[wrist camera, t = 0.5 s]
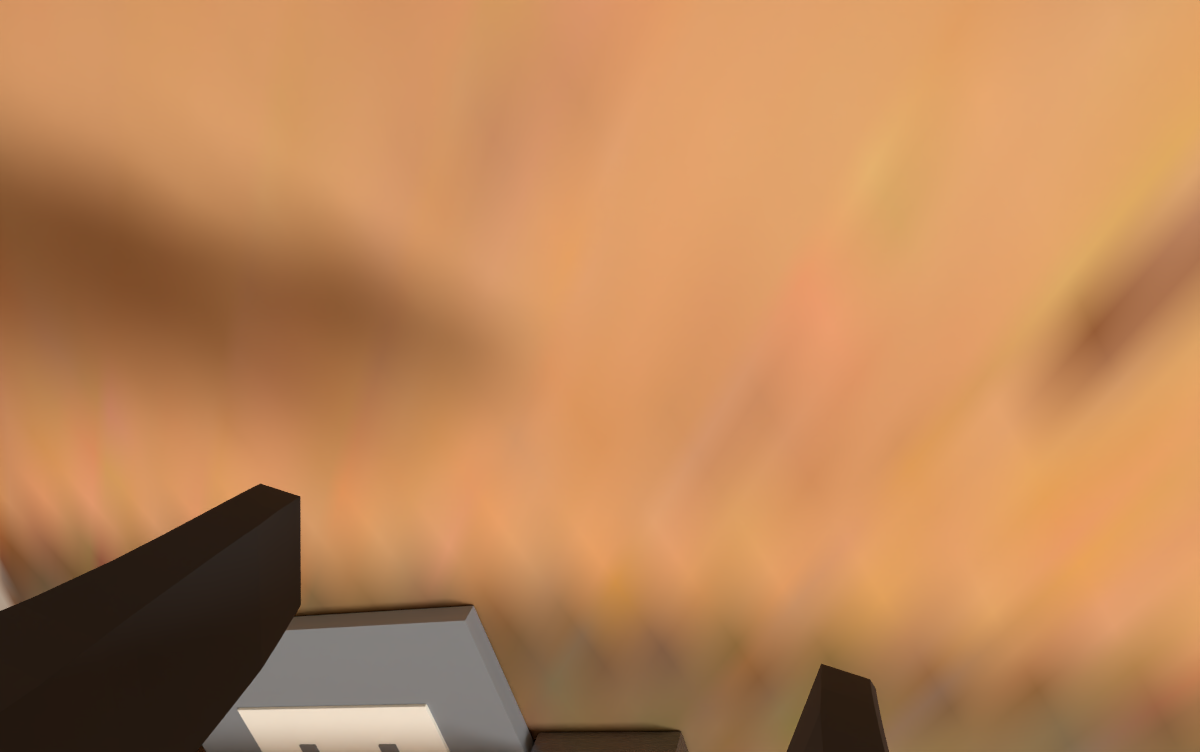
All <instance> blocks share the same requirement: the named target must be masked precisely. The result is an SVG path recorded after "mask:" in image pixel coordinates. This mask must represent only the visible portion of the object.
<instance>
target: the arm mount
mask: <svg viewBox="0 0 1200 752" xmlns="http://www.w3.org/2000/svg"><path fill="white" fill-rule="evenodd" d="M531 752H688V749H687V747H686V744H685V741H684V738H683V736H682V733H681V732H553V733H539V734H538V736H537V738H536V741H535V743H534V746H533V748H532V750H531Z"/></svg>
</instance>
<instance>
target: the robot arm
mask: <svg viewBox="0 0 1200 752" xmlns="http://www.w3.org/2000/svg"><path fill="white" fill-rule="evenodd" d="M300 605H301V570H300V496H297V495H294V494H291V493H288V492H285V491H281V490H278V489H275V488H272V487H269V486H266V485H263V484H259V485H257V486H255V487H253V488H251V489H249V490H247V491H245V492H243V493H241V494H239V495H237V496H235V497H233V498H232V499H230V500H228V501H226V502H224V503H222V504H220V505H218V506H217V507H215V508H213V509H211V510H209V511H207V512H205V513H203V514H202V515H200V516H198V517H196V518H194V519H192V520H190V521H188V522H186V523H185V524H183V525H181V526H179V527H177V528H175V529H173V530H171V531H169V532H168V533H166V534H164V535H162V536H160V537H158V538H156V539H154V540H152V541H150V542H148V543H146V544H144V545H142V546H140V547H138V548H136V549H135V550H133V551H131V552H129V553H127V554H125V555H123V556H121V557H119V558H117V559H115V560H113V561H111V562H109V563H107V564H104V565H102V566H100V567H98V568H96V569H94V570H91V571H89V572H87V573H85V574H83V575H81V576H79V577H76V578H74V579H72V580H70V581H68V582H66V583H63V584H61V585H59V586H57V587H55V588H53V589H51V590H48V591H46V592H44V593H42V594H40V595H38V596H35V597H33V598H31V599H28V600H26V601H23V602H21V603H19V604H16V605H14V606H11V607H9V608H7V609H4V610H2V611H0V752H197V750H198V749H199V748H200V747H201V745H202V744H203V743H204V742H205V740H206V739H207V738H208V737H209V735H210V734H211V733H212V732H213V730H214V729H215V728H216V727H217V725H218V724H219V723H220V722H221V720H222V719H223V718H224V717H225V715H226V714H227V713H228V712H229V710H230V709H231V708H232V707H233V705H234V704H235V703H236V701H237V700H238V699H239V698H240V696H241V695H242V694H243V693H244V691H245V690H246V689H247V688H248V686H249V685H250V684H251V682H252V681H253V680H254V678H255V677H256V676H257V675H258V673H259V672H260V671H261V669H262V668H263V666H264V665H265V663H266V662H267V660H268V658H269V657H270V655H271V654H272V652H273V650H274V649H275V647H276V646H277V644H278V643H279V641H280V639H281V638H282V636H283V634H284V633H285V631H286V629H287V627H288V626H289V624H290V622H291V621H292V619H293V617H294V616H295V614H296V612H297V610H298V609H299V607H300ZM787 752H889V750H888V746H887V742H886V738H885V733H884V729H883V725H882V720H881V715H880V710H879V705H878V700H877V694H876V689H875V687H874V685H873V684H872V682H871V680H870V679H867V678H864V677H861V676H858V675H855V674H851V673H848V672H845V671H842V670H839V669H836V668H833V667H830V666H826V665H823V664H821V666H820V669H819V671H818V674H817V676H816V679H815V681H814V684H813V686H812V689H811V691H810V694H809V696H808V699H807V702H806V704H805V707H804V709H803V712H802V714H801V717H800V719H799V722H798V724H797V727H796V730H795V732H794V735H793V737H792V740H791V742H790V745H789V747H788V750H787Z"/></svg>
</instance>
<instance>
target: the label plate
mask: <svg viewBox="0 0 1200 752" xmlns="http://www.w3.org/2000/svg"><path fill="white" fill-rule="evenodd" d="M202 746H203V747H204V749H205V750H206V752H531V750H532V748H533V746H534V741H533V739H532V736H531V734H530V732H529V730H528V727H527V725H526V723H525V721H524V718H523V716H522V714H521V712H520V709H519V707H518V705H517V703H516V700H515V698H514V696H513V694H512V691H511V689H510V687H509V685H508V682H507V680H506V678H505V676H504V673H503V671H502V669H501V667H500V664H499V662H498V660H497V658H496V655H495V653H494V651H493V649H492V646H491V644H490V642H489V640H488V637H487V635H486V633H485V630H484V628H483V626H482V624H481V621H480V619H479V617H478V615H477V612H476V610H475V608H474V606H460V607H444V608H428V609H411V610H395V611H379V612H363V613H346V614H330V615H314V616H298V617H293V619H292V621H291V622H290V624H289V626H288V627H287V629H286V631H285V633H284V634H283V636H282V638H281V639H280V641H279V643H278V644H277V646H276V647H275V649H274V650H273V652H272V654H271V655H270V657H269V658H268V660H267V662H266V663H265V665H264V666H263V668H262V669H261V671H260V672H259V673H258V675H257V676H256V677H255V678H254V680H253V681H252V682H251V684H250V685H249V686H248V688H247V689H246V690H245V691H244V693H243V694H242V695H241V696H240V698H239V699H238V700H237V701H236V703H235V704H234V705H233V707H232V708H231V709H230V710H229V712H228V713H227V714H226V715H225V717H224V718H223V719H222V720H221V722H220V723H219V724H218V725H217V727H216V728H215V729H214V730H213V732H212V733H211V734H210V735H209V737H208V738H207V739H206V740H205V742H204V743H203V744H202Z"/></svg>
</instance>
